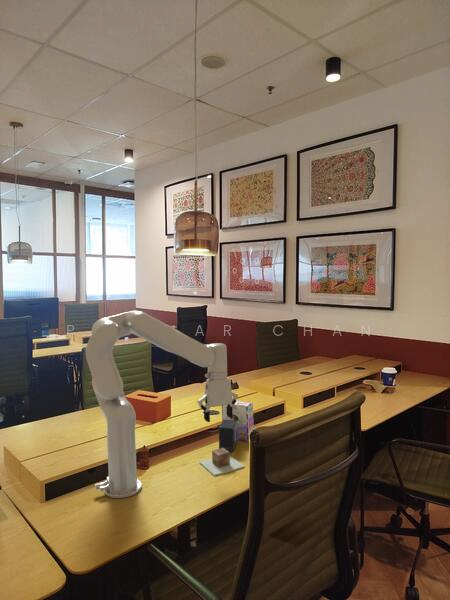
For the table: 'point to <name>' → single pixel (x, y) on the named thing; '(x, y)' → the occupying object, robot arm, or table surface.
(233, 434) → the small box
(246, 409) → the candy box
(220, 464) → the cube
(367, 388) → the table surface
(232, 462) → the mat
